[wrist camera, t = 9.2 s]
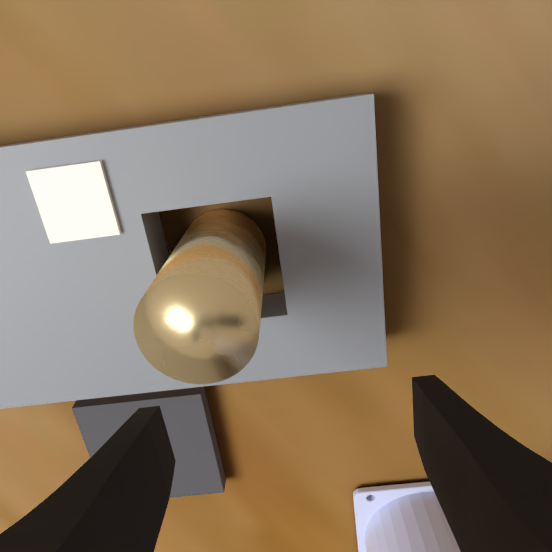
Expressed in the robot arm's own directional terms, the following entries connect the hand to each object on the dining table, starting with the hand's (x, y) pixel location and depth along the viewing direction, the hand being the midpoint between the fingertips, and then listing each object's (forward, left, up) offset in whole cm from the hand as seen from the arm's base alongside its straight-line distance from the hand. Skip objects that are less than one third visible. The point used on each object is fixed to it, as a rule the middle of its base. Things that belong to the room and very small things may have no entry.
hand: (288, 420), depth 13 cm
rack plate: (+6, -2, -10) cm, 12 cm away
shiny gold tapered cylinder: (+3, -2, -10) cm, 11 cm away
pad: (+9, +9, -10) cm, 16 cm away
